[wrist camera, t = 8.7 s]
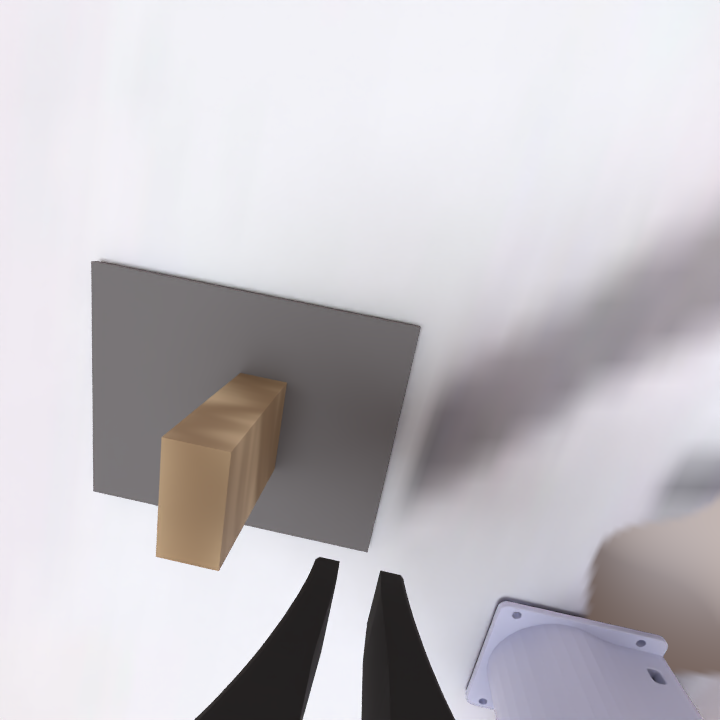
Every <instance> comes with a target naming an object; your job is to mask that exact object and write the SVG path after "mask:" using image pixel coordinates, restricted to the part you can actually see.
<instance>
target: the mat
mask: <svg viewBox="0 0 720 720" xmlns="http://www.w3.org/2000/svg"><path fill="white" fill-rule="evenodd" d="M91 274H92V385H93V491H95V492H99V493H104V494H108V495H113V496H117V497H122V498H126V499H131V500H135V501H140V502H144V503H149V504H153V505H158V503H159V481H160V460H161V439H162V436H164V435H165V434H166V433H167V432H168V431H170V430H171V429H172V428H173V427H175V426H176V425H177V424H178V423H179V422H181V421H182V420H183V419H184V418H186V417H187V416H188V415H189V414H191V413H192V412H193V411H194V410H195V409H197V408H198V407H199V406H200V405H202V404H203V403H204V402H205V401H206V400H208V399H209V398H210V397H211V396H213V395H214V394H215V393H216V392H217V391H219V390H220V389H221V388H222V387H224V386H225V385H226V384H227V383H229V382H230V381H231V380H232V379H233V378H235V377H236V376H237V375H238V374H240V373H244V374H248V375H253V376H258V377H263V378H267V379H272V380H277V381H282V382H286V383H287V386H286V393H285V400H284V407H283V414H282V421H281V428H280V435H279V442H278V449H277V456H276V463H275V469H274V471H273V473H272V475H271V477H270V478H269V480H268V482H267V484H266V486H265V488H264V489H263V491H262V493H261V495H260V497H259V498H258V500H257V502H256V504H255V506H254V508H253V509H252V511H251V513H250V515H249V517H248V519H247V520H246V522H245V524H244V525H247V526H252V527H256V528H261V529H265V530H270V531H274V532H279V533H283V534H288V535H292V536H297V537H301V538H306V539H310V540H314V541H319V542H323V543H328V544H332V545H337V546H341V547H346V548H350V549H355V550H359V551H364V552H368V548H369V544H370V539H371V535H372V531H373V527H374V523H375V518H376V514H377V510H378V506H379V501H380V497H381V493H382V489H383V484H384V480H385V476H386V472H387V467H388V463H389V459H390V455H391V451H392V446H393V442H394V438H395V434H396V429H397V425H398V421H399V417H400V412H401V408H402V404H403V400H404V396H405V391H406V387H407V383H408V379H409V374H410V370H411V366H412V362H413V357H414V353H415V349H416V345H417V341H418V336H419V332H420V326H415V325H410V324H405V323H400V322H395V321H390V320H385V319H380V318H376V317H371V316H366V315H361V314H356V313H351V312H346V311H341V310H336V309H331V308H326V307H321V306H316V305H311V304H306V303H301V302H297V301H292V300H287V299H282V298H277V297H272V296H267V295H262V294H257V293H252V292H247V291H242V290H237V289H232V288H227V287H222V286H218V285H213V284H208V283H203V282H198V281H193V280H188V279H183V278H178V277H173V276H168V275H163V274H158V273H153V272H148V271H143V270H139V269H134V268H129V267H124V266H119V265H114V264H109V263H104V262H99V261H91Z"/></svg>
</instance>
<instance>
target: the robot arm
mask: <svg viewBox="0 0 720 720" xmlns="http://www.w3.org/2000/svg"><path fill="white" fill-rule="evenodd" d="M339 562H340V561H335V560H331V559H326V558H322V557H319V558H317V559H315V562H314V565H313V567H312V569H311V572H310V574H309V576H308V578H307V580H306V581H305V583H304V585H303V587H302V589H301V590H300V592H299V594H298V595H297V597H296V598H295V600H294V602H293V603H292V605H291V606H290V608H289V609H288V611H287V612H286V614H285V615H284V617H283V618H282V620H281V621H280V622H279V624H278V625H277V627H276V628H275V629H274V631H273V632H272V633H271V635H270V636H269V637H268V639H267V640H266V641H265V643H264V644H263V645H262V647H261V648H260V649H259V650H258V652H257V653H256V654H255V655H254V657H253V658H252V659H251V660H250V661H249V662H248V664H247V665H246V666H245V667H244V668H243V669H242V671H241V672H240V673H239V674H238V675H237V676H236V677H235V678H234V680H233V681H232V682H231V683H230V684H229V685H228V686H227V687H226V688H225V689H224V690H223V692H222V693H221V694H220V695H219V696H218V697H217V698H216V699H215V700H214V701H213V702H212V703H211V704H210V705H209V706H208V707H207V708H206V709H205V710H204V711H203V712H202V713H201V714H200V715H199V716H198V717H197V718H196V719H195V720H303V716H304V712H305V709H306V705H307V701H308V698H309V694H310V691H311V687H312V683H313V680H314V676H315V672H316V669H317V665H318V662H319V658H320V654H321V650H322V646H323V641H324V636H325V631H326V627H327V622H328V617H329V613H330V608H331V603H332V599H333V594H334V589H335V585H336V580H337V574H338V568H339ZM514 612H517V613H514ZM667 648H668V644H667V642H666V641H665V639H664V638H663V637H662V636H660V635H656V634H652V633H647V632H642V631H638V630H634V629H629V628H625V627H620V626H616V625H611V624H607V623H603V622H598V621H594V620H589V619H585V618H580V617H576V616H571V615H567V614H563V613H558V612H554V611H549V610H545V609H540V608H536V607H531V606H527V605H522V604H518V603H514V602H509V601H504V602H501V603H500V604H499V605H498V607H497V610H496V612H495V615H494V618H493V620H492V623H491V626H490V628H489V631H488V634H487V636H486V639H485V642H484V645H483V647H482V650H481V653H480V655H479V658H478V661H477V663H476V666H475V669H474V672H473V674H472V677H471V680H470V682H469V685H468V688H467V690H466V698H467V701H468V702H469V703H470V704H473V705H477V706H481V707H485V708H489V709H494V711H495V715H496V720H703V718H702V717H701V715H700V714H699V712H698V711H697V709H696V707H695V706H694V704H693V703H692V701H691V700H690V698H689V697H688V695H687V693H686V692H685V690H684V689H683V687H682V686H681V684H680V683H679V681H678V679H677V678H676V676H675V675H674V673H673V672H672V670H671V669H670V667H669V665H668V664H667V662H666V661H665V659H664V658H663V656H664V654H665V652H666V650H667ZM362 720H455V719H454V717H453V714H452V712H451V710H450V708H449V706H448V704H447V702H446V700H445V698H444V695H443V693H442V691H441V689H440V686H439V684H438V682H437V679H436V677H435V675H434V672H433V670H432V667H431V665H430V662H429V660H428V657H427V655H426V652H425V649H424V646H423V644H422V641H421V638H420V635H419V633H418V630H417V627H416V624H415V621H414V618H413V614H412V611H411V608H410V604H409V601H408V597H407V593H406V589H405V585H404V580H403V578H402V577H401V575H397V574H393V573H389V572H384V571H380V574H379V578H378V582H377V586H376V590H375V594H374V598H373V602H372V606H371V610H370V614H369V618H368V622H367V630H366V638H365V647H364V657H363V678H362Z"/></svg>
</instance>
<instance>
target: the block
mask: <svg viewBox="0 0 720 720" xmlns="http://www.w3.org/2000/svg"><path fill="white" fill-rule="evenodd" d="M286 386H287V383H286V382H282V381H277V380H272V379H267V378H263V377H258V376H253V375H248V374H244V373H240V374H238V375H237V376H236V377H235V378H233V379H232V380H231V381H230V382H229V383H227V384H226V385H225V386H224V387H222V388H221V389H220V390H219V391H217V392H216V393H215V394H214V395H213V396H211V397H210V398H209V399H208V400H206V401H205V402H204V403H203V404H202V405H200V406H199V407H198V408H197V409H195V410H194V411H193V412H192V413H191V414H189V415H188V416H187V417H186V418H184V419H183V420H182V421H181V422H179V423H178V424H177V425H176V426H175V427H173V428H172V429H171V430H170V431H168V432H167V433H166V434H165V435H164V436H162V439H161V460H160V481H159V503H158V524H157V545H156V557H160V558H164V559H168V560H173V561H177V562H181V563H186V564H190V565H195V566H199V567H203V568H208V569H212V570H217V571H219V570H220V568H221V566H222V564H223V562H224V560H225V559H226V557H227V555H228V553H229V551H230V550H231V548H232V546H233V544H234V542H235V540H236V539H237V537H238V535H239V533H240V531H241V529H242V528H243V526H244V524H245V522H246V520H247V519H248V517H249V515H250V513H251V511H252V509H253V508H254V506H255V504H256V502H257V500H258V498H259V497H260V495H261V493H262V491H263V489H264V488H265V486H266V484H267V482H268V480H269V478H270V477H271V475H272V473H273V471H274V469H275V463H276V456H277V449H278V442H279V435H280V428H281V421H282V414H283V407H284V400H285V393H286Z"/></svg>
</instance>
